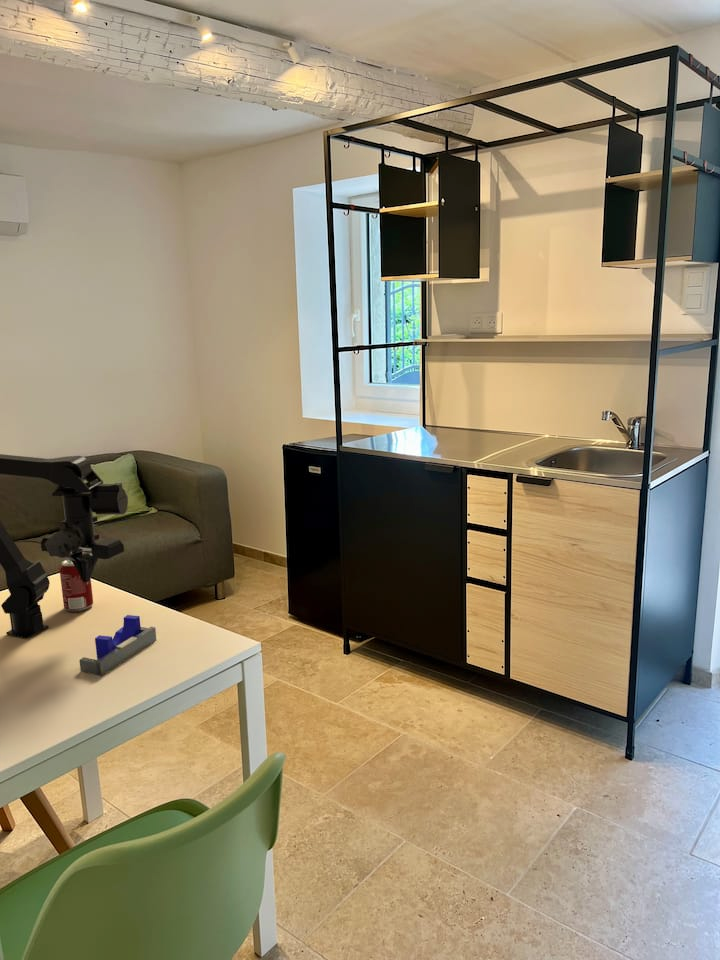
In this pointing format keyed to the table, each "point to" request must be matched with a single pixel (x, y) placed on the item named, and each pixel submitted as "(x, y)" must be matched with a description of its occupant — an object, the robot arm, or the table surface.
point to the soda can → (74, 588)
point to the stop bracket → (119, 653)
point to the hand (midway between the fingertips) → (86, 581)
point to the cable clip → (118, 636)
